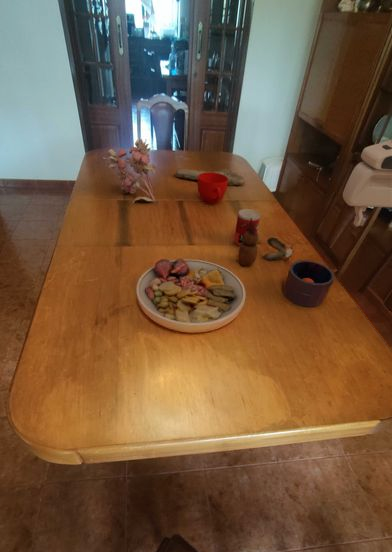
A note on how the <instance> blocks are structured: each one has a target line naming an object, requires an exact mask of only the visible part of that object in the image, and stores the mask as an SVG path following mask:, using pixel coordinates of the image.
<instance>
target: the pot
mask: <svg viewBox="0 0 392 552" xmlns="http://www.w3.org/2000/svg"><path fill="white" fill-rule="evenodd" d="M304 278H310V279H312V280H313V281H314V283H311V282H307V281H305V280H303V279H304ZM334 281H335V273H334V272H333V271H332V269H331V268H329V266H327V265H325V264H322V263H320V262H317V261H313V260H307V259H306V260H297V261H294V262H293V263H291V264H290V266H289V269H288V272H287V274H286V278H285V282H284V285H283V289H282V294H283V296H284V297H285V299H286V300H287V301H288V302H290V303H292V304H293V305H296V306H298V307H301V308H310V309H311V308H317V307H320V306H322V305H323V304H324V303H325V301H326V299H327V297H328V294H329V292H330V290H331V287H332V286H333V283H334Z"/></svg>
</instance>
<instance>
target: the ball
mask: <svg viewBox="0 0 392 552" xmlns="http://www.w3.org/2000/svg"><path fill="white" fill-rule="evenodd" d="M303 280H305V281H307V282H311V283H314V281H313V280H312V279H310V278H304V279H303Z"/></svg>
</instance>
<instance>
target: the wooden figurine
mask: <svg viewBox="0 0 392 552" xmlns="http://www.w3.org/2000/svg"><path fill="white" fill-rule="evenodd" d="M254 229H255V226H254V221H253V222H252V218H251V219H250V223H249V228H248V231H246V232H245V234H244V237H243V242H242V243H241V245H240V247H238V248H239V249H238V263H239V264H240V265H241V266H242V267H245V268H248V267H251V266H253V264H254V263H255V261H256V259H257V256H258V255H257V254H258V246H257V243H258V241H259V240H258V239H259V234H258V231H257V232H255V231H256V230H254Z"/></svg>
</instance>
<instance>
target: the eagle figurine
mask: <svg viewBox="0 0 392 552" xmlns="http://www.w3.org/2000/svg"><path fill="white" fill-rule="evenodd" d="M266 242H267V244H268V246H270V247H271V248H273V249H275V250H277V251H276V252H270V253H266V254H264V255H263V256H262V257H263V259H264V260H266V261H271V260H281V259H283V258H284V257H285V258H286V260H287V261H289V260H290V257H291V258H292V254H293V253H294V252H295V251H294V250H293V247H294V243H292V244H291V246H290V248H287V246H286V244H285V243H283V242H282V241H280V240H279V238H277V237H269V238H267V240H266Z"/></svg>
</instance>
